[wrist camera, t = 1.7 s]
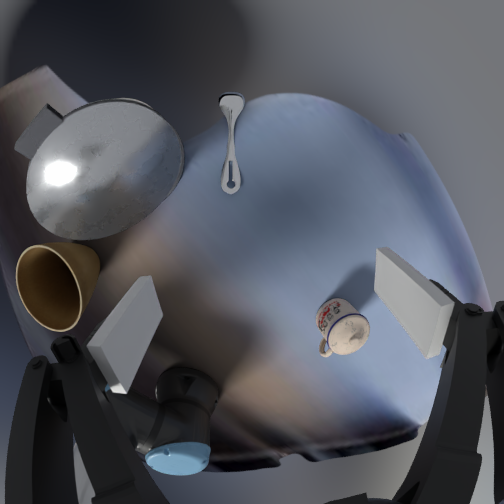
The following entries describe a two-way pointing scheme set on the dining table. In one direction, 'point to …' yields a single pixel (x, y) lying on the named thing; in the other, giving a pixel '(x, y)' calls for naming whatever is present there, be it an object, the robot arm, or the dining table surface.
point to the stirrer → (231, 136)
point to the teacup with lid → (341, 327)
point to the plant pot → (57, 282)
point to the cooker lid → (98, 167)
